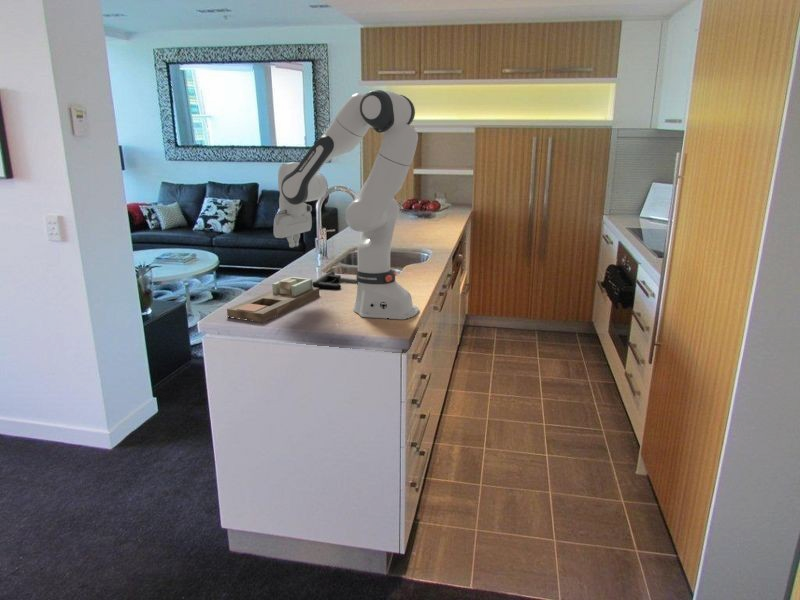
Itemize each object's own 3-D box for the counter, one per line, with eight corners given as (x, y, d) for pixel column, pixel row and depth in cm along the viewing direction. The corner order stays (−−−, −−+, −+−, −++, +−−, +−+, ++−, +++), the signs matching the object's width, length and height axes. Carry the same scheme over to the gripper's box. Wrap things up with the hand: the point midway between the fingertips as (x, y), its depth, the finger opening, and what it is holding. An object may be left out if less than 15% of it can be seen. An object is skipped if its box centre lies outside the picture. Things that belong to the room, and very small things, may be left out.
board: (319, 295, 219) (319, 287, 218) (263, 322, 187) (262, 313, 186) (287, 291, 224) (287, 284, 223) (227, 317, 192) (226, 309, 191)
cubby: (312, 288, 218) (312, 278, 217) (295, 295, 207) (294, 286, 206) (290, 285, 221) (290, 276, 220) (272, 293, 211) (272, 283, 210)
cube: (297, 291, 213) (296, 279, 212) (290, 294, 209) (289, 282, 208) (286, 290, 214) (286, 278, 213) (279, 293, 210) (279, 281, 209)
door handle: (362, 274, 244) (326, 270, 247) (347, 286, 225) (308, 281, 228) (362, 282, 245) (326, 277, 248) (347, 294, 226) (308, 289, 229)
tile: (267, 306, 194) (266, 305, 194) (254, 312, 188) (254, 311, 188) (249, 304, 196) (249, 303, 196) (236, 309, 190) (236, 308, 190)
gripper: (283, 212, 198) (285, 252, 201) (314, 206, 216) (315, 242, 220) (267, 211, 200) (270, 250, 204) (299, 205, 218) (301, 241, 222)
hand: (293, 246), depth 212 cm, fingers closed
